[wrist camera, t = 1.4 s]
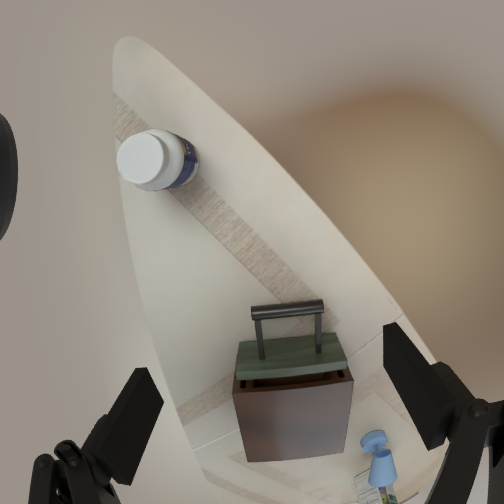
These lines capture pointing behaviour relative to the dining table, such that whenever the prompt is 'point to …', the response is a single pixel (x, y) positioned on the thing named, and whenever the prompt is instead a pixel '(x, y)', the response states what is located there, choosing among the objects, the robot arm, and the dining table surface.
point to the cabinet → (293, 418)
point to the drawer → (289, 350)
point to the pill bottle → (157, 160)
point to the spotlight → (379, 459)
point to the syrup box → (373, 491)
